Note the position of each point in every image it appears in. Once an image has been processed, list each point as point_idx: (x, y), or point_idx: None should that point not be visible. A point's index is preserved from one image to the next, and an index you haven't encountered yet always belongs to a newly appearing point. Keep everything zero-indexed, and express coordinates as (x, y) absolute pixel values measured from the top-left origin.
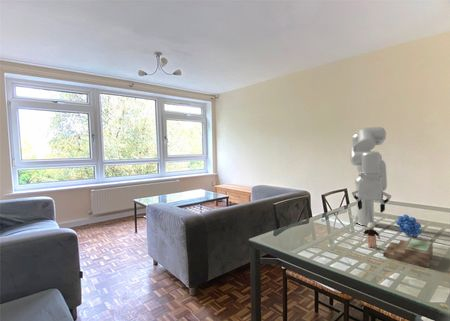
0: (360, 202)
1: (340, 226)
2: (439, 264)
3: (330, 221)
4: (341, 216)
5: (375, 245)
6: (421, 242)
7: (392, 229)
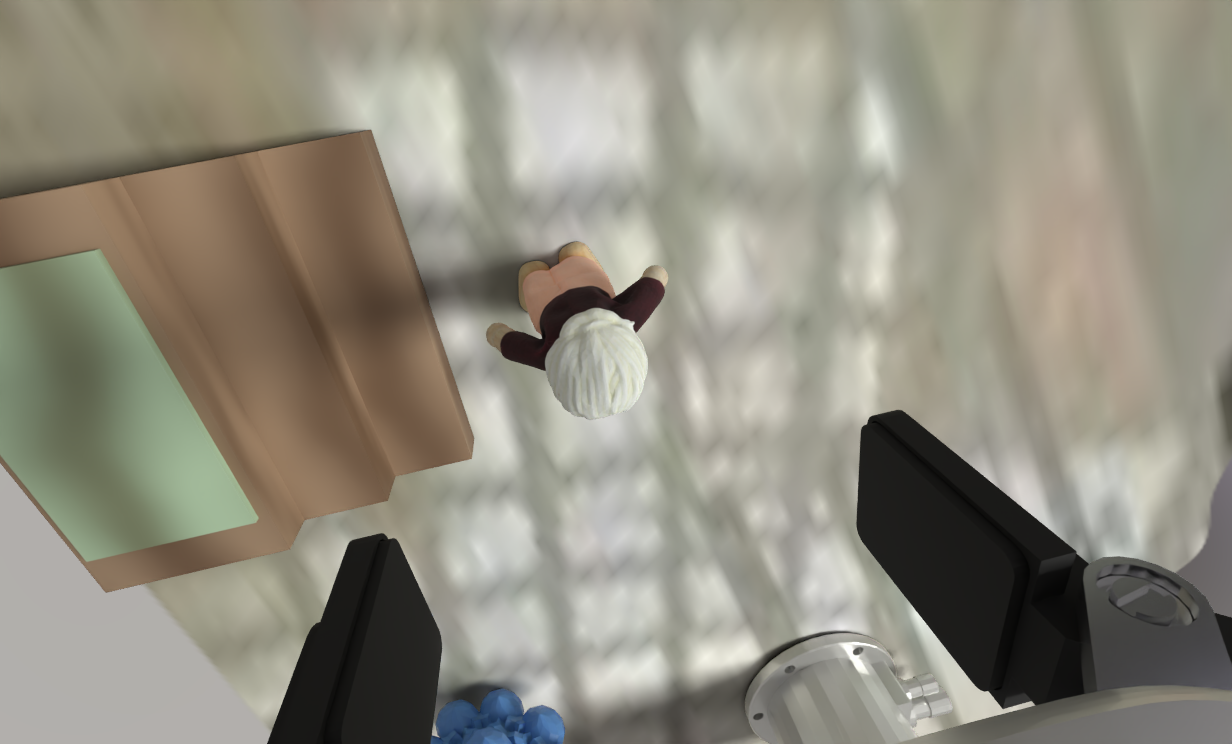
0: (996, 581)
1: None
2: None
3: None
4: None
5: (526, 279)
6: (128, 501)
7: (632, 717)
